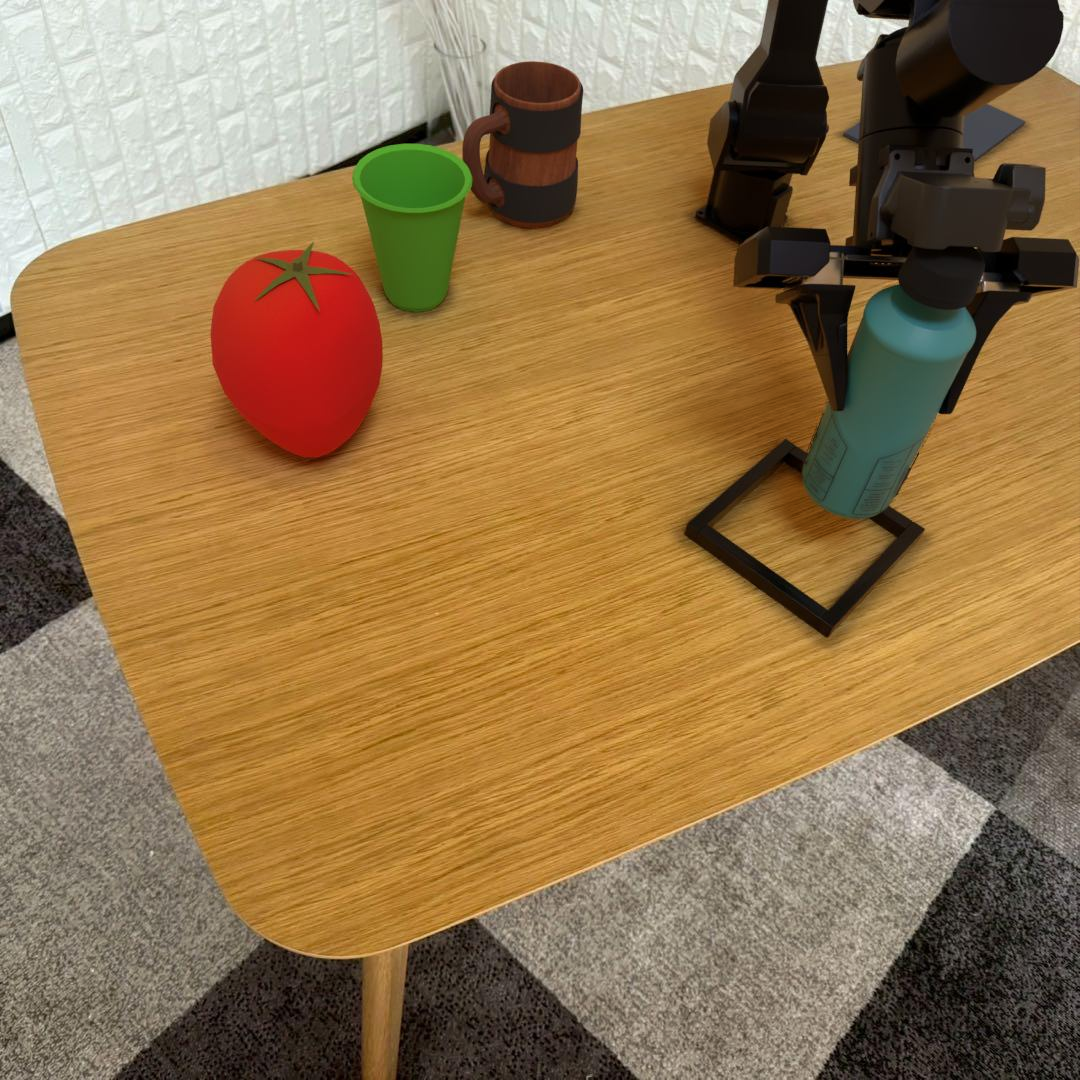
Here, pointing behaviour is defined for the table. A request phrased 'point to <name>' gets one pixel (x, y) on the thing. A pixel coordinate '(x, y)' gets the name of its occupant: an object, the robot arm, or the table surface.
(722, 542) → the black square frame
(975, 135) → the table mat
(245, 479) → the table surface
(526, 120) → the mug
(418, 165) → the cup
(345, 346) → the tomato
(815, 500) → the beverage bottle
